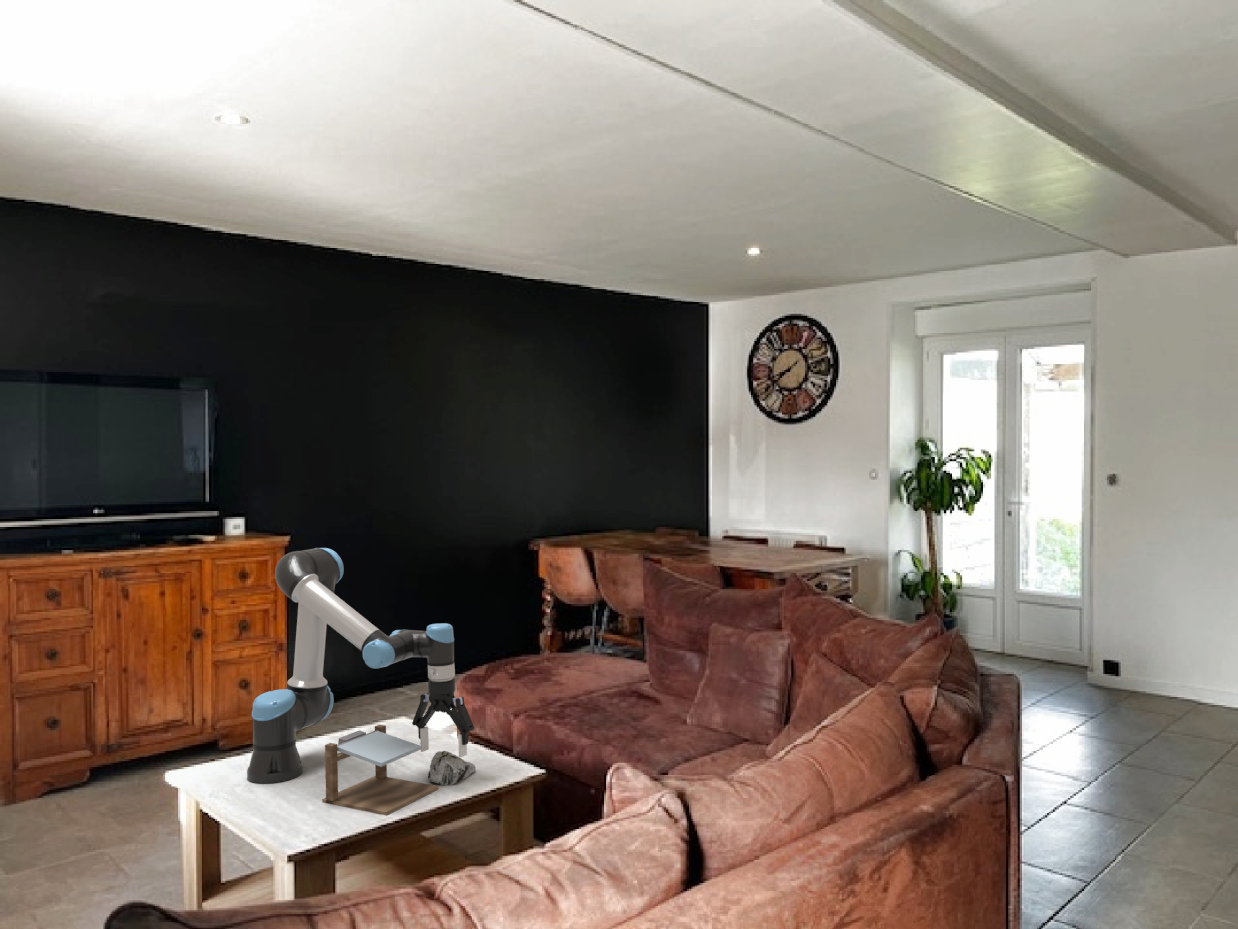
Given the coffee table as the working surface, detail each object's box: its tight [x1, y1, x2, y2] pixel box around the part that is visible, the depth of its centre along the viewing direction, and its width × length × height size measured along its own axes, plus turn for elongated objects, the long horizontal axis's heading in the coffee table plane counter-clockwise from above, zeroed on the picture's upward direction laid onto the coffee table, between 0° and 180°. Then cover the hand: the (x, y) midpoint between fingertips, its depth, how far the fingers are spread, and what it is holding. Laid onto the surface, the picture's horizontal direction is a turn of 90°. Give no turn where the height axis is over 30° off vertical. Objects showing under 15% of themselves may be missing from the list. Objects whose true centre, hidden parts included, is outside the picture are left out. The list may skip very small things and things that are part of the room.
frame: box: [321, 724, 439, 816], centre depth 252 cm, size 22×21×15 cm
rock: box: [427, 750, 476, 786], centre depth 266 cm, size 15×10×7 cm
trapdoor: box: [337, 729, 421, 767], centre depth 253 cm, size 19×17×2 cm
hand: (443, 753), depth 266 cm, fingers open, 13 cm apart
